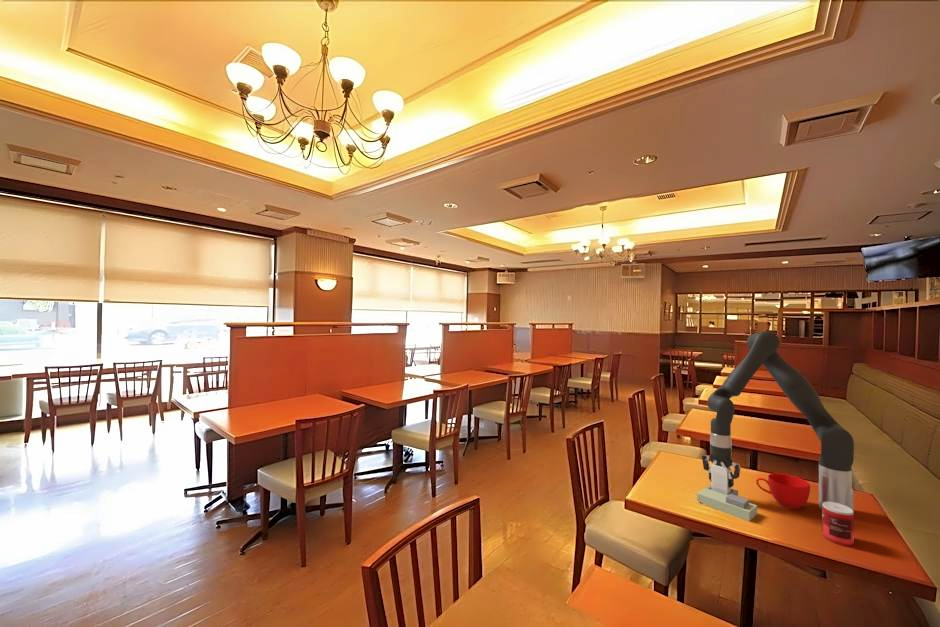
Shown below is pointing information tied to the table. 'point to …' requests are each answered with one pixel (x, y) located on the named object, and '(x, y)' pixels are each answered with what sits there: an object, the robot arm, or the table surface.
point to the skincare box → (720, 479)
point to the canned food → (838, 523)
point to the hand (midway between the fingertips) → (721, 484)
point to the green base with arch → (728, 503)
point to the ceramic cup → (787, 489)
